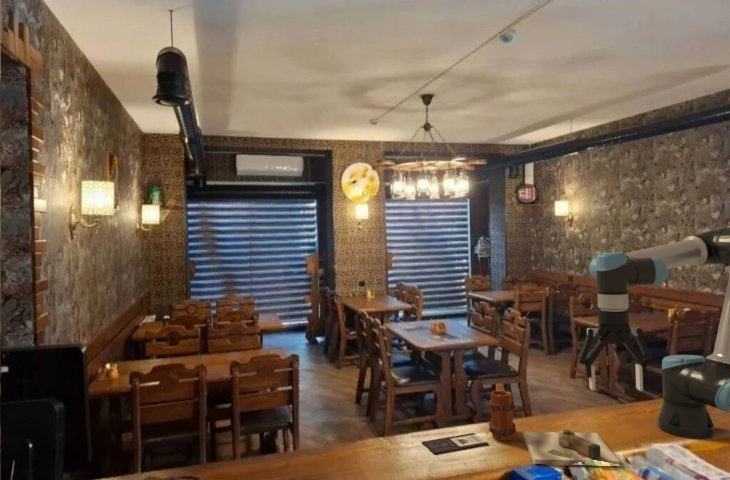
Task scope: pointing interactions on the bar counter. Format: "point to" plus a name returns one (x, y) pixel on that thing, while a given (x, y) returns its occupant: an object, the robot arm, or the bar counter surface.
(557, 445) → the dial board
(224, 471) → the bar counter surface
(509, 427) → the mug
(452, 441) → the chocolate bar
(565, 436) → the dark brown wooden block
